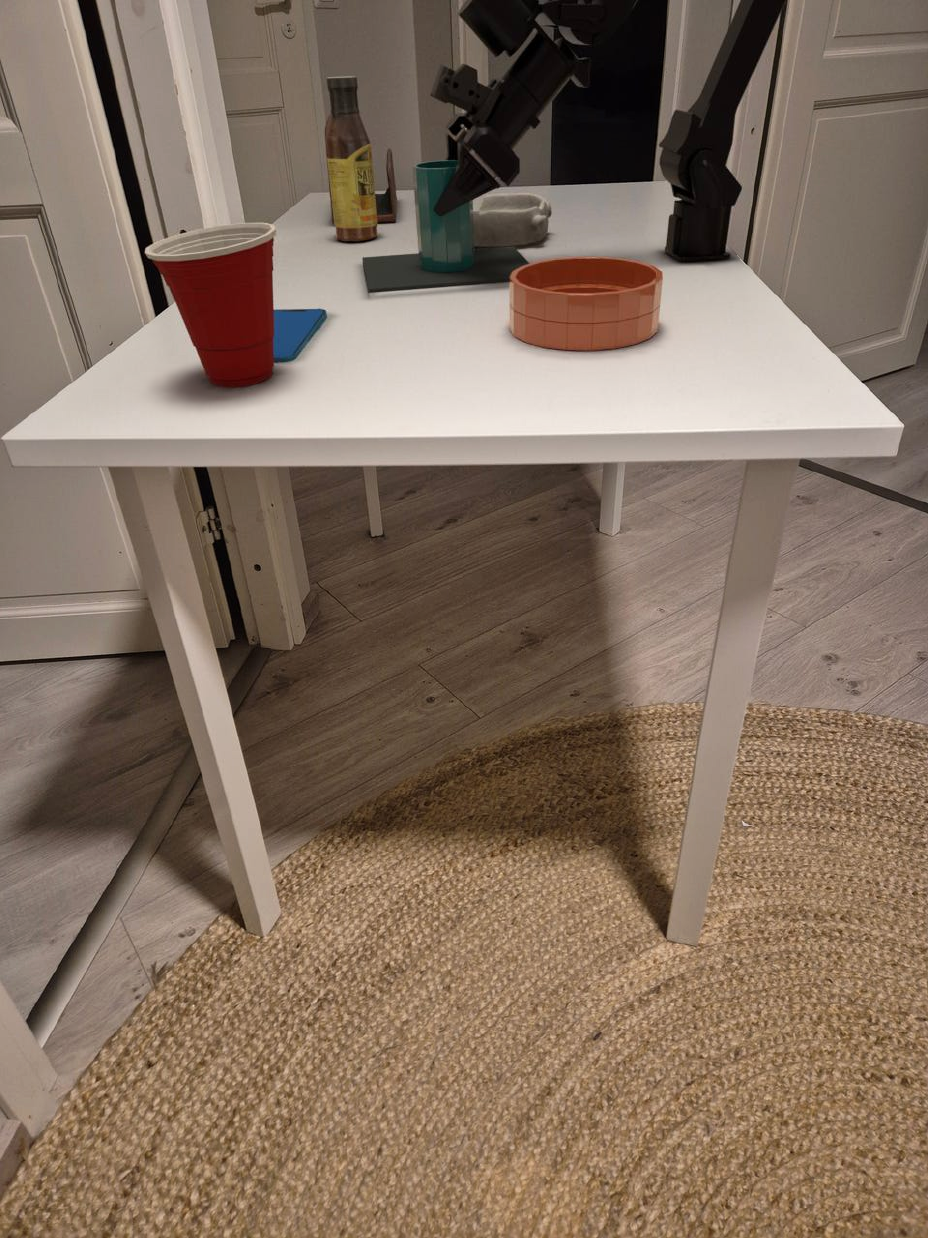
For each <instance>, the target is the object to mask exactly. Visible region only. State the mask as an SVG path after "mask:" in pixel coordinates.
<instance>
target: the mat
mask: <svg viewBox="0 0 928 1238" xmlns="http://www.w3.org/2000/svg"><path fill="white" fill-rule="evenodd" d="M474 251H475V259H474V266H473V267H471V268H469V269H466V270H462V271H456V272H429V271H425V270H423V269H421V267H420V262H419V252H418V253H417V252H416V253H404V254H389V255H377V256H365V257H364V256H363V257H362V258H361V259H362V267H363V272H364V276H365V277H364V278H365V283H366V287H367V293H368V294H375V293H387V292H399V291H400V292H401V291H413V290H415V291H416V290H428V289H439V288H451V287H465V286H478V285H492V284H503V283H509V278H510V275H511V273H512V272H513V271H514V270H516V269H518V268H519V267H521V266H524V265H527V264H530V262H529V261H528V260H527V259H526V258H525V257H524V256H523V255H522V253H521V252H520V251H519V250H518V249H517V247H516V246H515V245H513V246H501V247H485V248H474ZM368 297H369V298H370V295H368Z"/></svg>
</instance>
